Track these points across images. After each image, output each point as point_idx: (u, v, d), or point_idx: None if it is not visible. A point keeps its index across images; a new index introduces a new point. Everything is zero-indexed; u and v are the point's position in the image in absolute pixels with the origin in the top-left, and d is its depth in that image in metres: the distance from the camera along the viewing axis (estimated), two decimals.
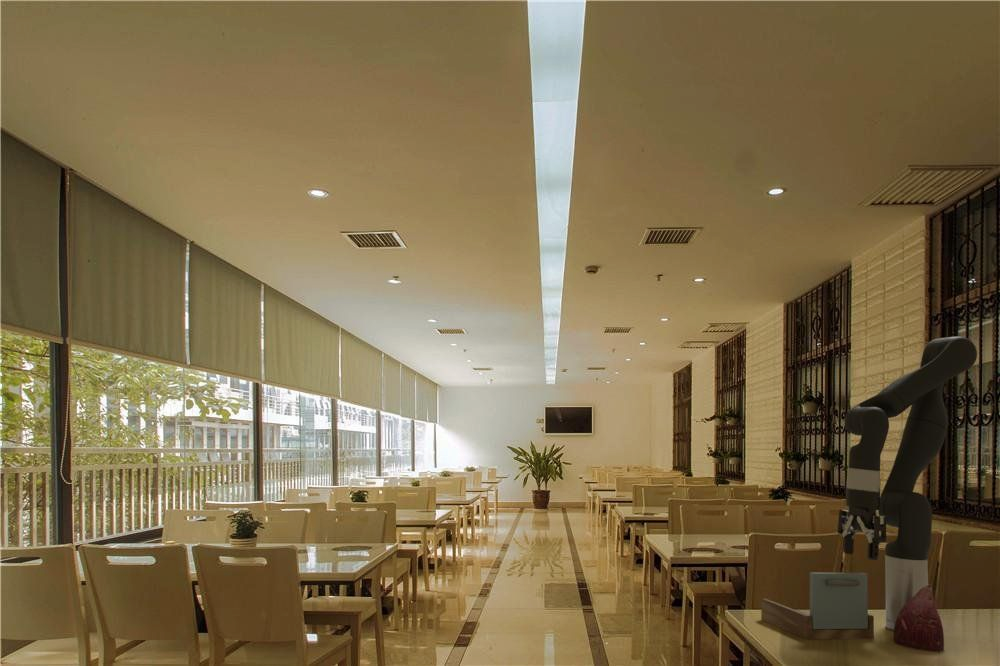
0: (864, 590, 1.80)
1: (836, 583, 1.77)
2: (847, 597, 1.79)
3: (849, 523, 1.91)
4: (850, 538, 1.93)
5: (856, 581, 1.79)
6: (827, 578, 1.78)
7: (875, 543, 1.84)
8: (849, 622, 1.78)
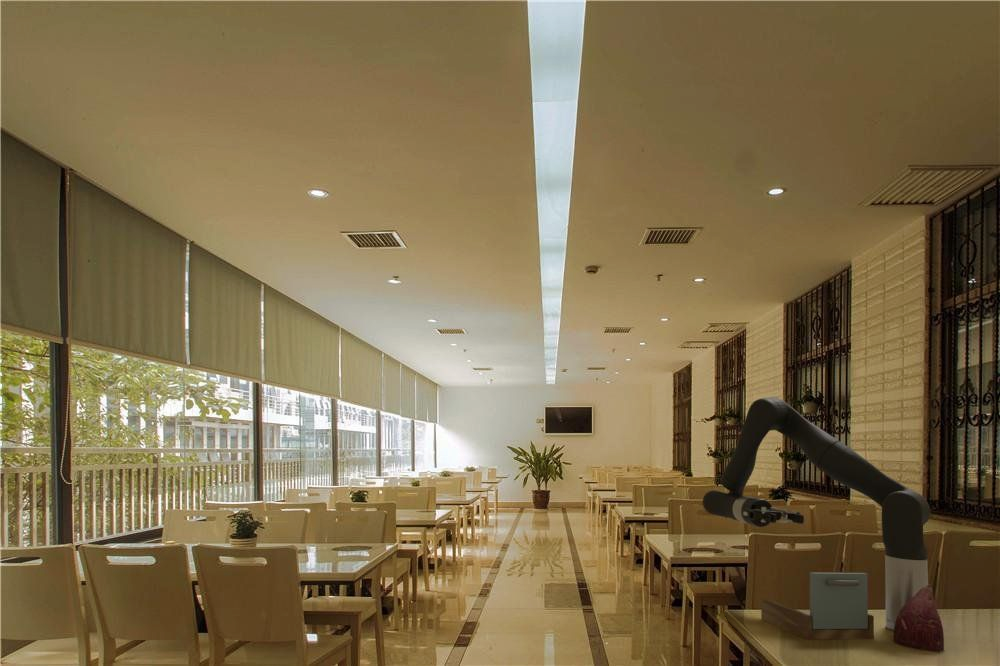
0: (864, 590, 1.80)
1: (836, 583, 1.77)
2: (847, 597, 1.79)
3: None
4: (792, 516, 2.04)
5: (856, 581, 1.79)
6: (827, 578, 1.78)
7: (762, 517, 2.02)
8: (849, 622, 1.78)
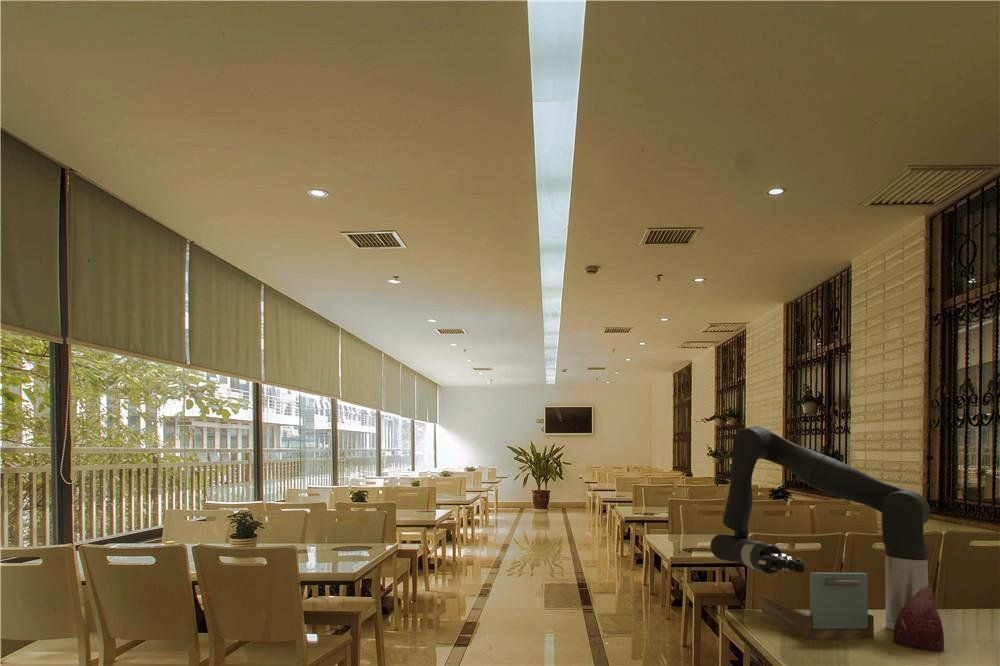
0: (864, 590, 1.80)
1: (836, 583, 1.77)
2: (847, 597, 1.79)
3: None
4: None
5: (856, 581, 1.79)
6: (827, 578, 1.78)
7: (786, 566, 1.97)
8: (849, 622, 1.78)
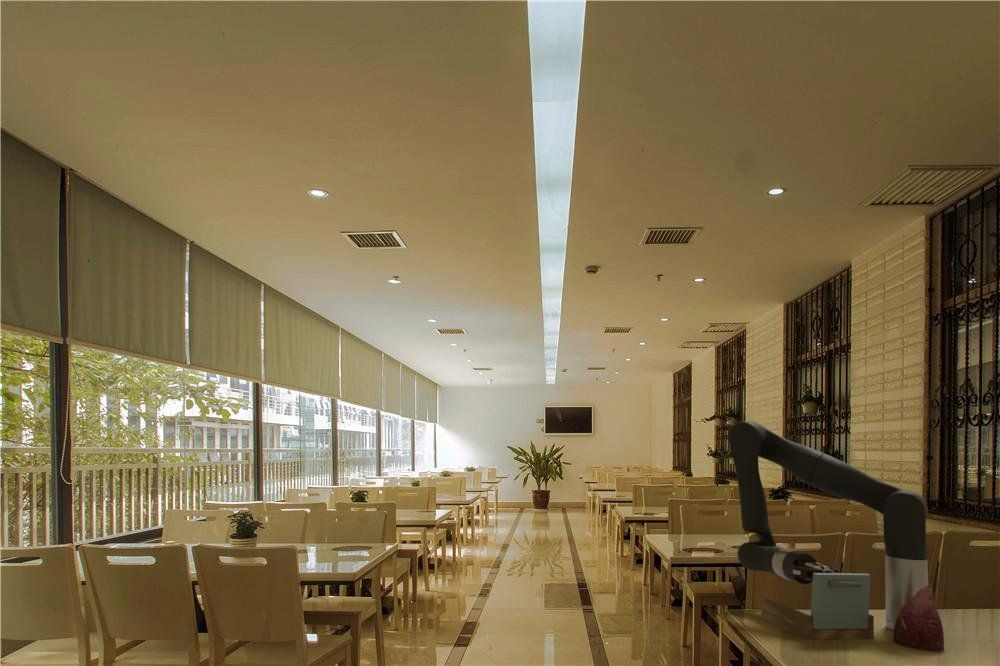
0: (867, 591, 1.79)
1: (839, 585, 1.76)
2: (849, 598, 1.78)
3: None
4: None
5: (859, 582, 1.78)
6: (830, 579, 1.77)
7: None
8: (850, 623, 1.78)
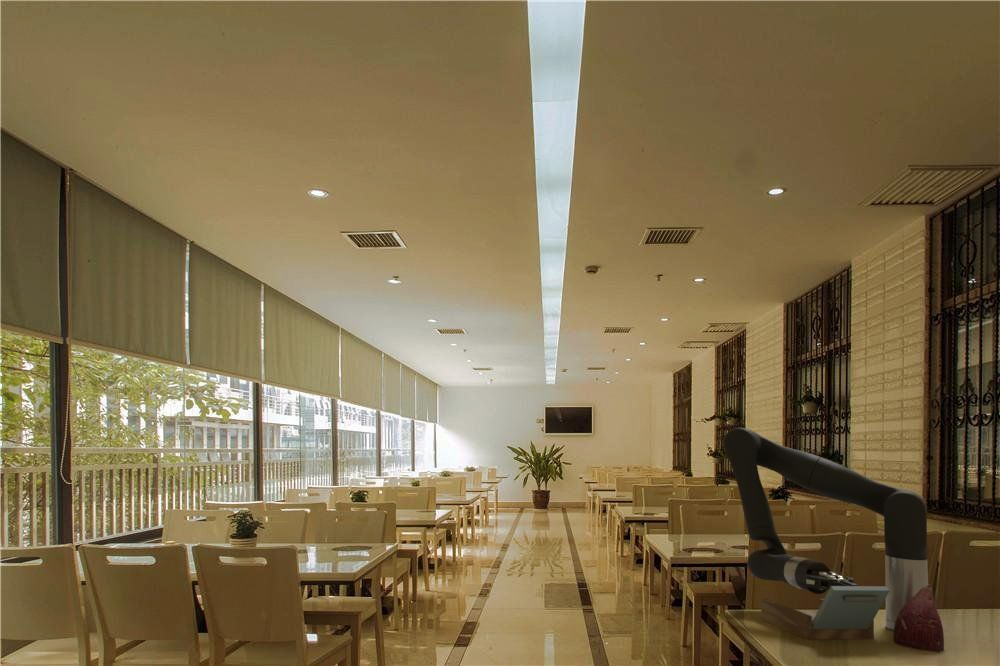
0: (880, 602, 1.75)
1: (853, 601, 1.71)
2: (859, 607, 1.75)
3: None
4: None
5: (875, 599, 1.72)
6: (846, 593, 1.72)
7: None
8: (852, 625, 1.77)
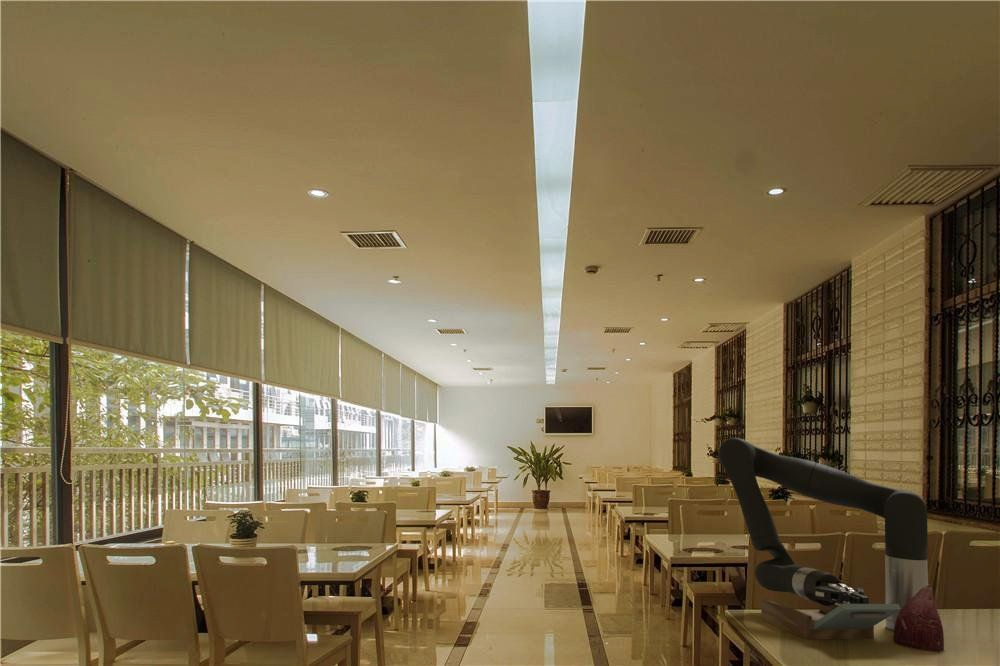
0: (887, 615, 1.73)
1: (861, 618, 1.69)
2: None
3: None
4: None
5: (883, 616, 1.70)
6: (855, 611, 1.68)
7: (848, 599, 1.74)
8: (853, 627, 1.77)
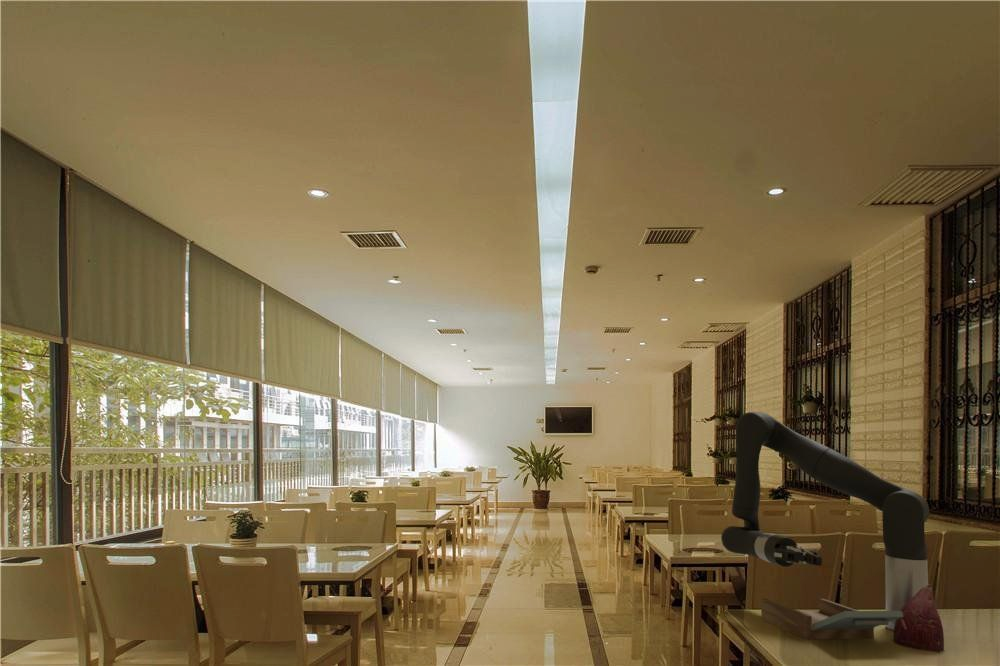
0: (889, 620, 1.72)
1: (863, 625, 1.68)
2: None
3: None
4: None
5: (885, 623, 1.69)
6: (858, 617, 1.68)
7: (803, 559, 1.90)
8: (853, 628, 1.77)
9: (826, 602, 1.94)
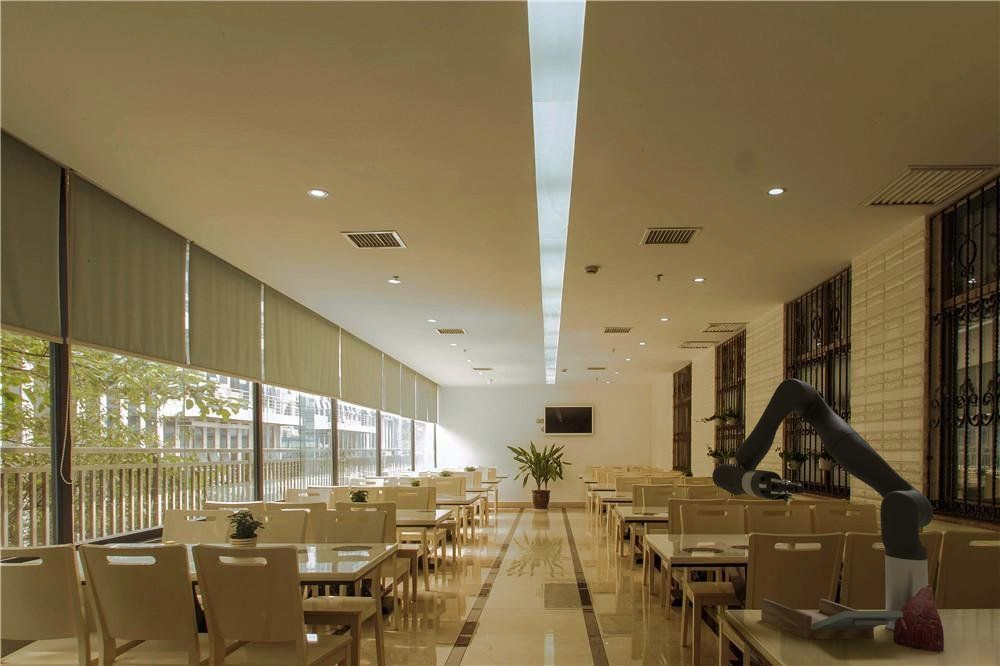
0: (889, 620, 1.72)
1: (863, 625, 1.68)
2: None
3: (784, 493, 2.07)
4: None
5: (885, 623, 1.69)
6: (858, 617, 1.68)
7: (786, 489, 2.02)
8: (853, 628, 1.77)
9: (826, 602, 1.94)
